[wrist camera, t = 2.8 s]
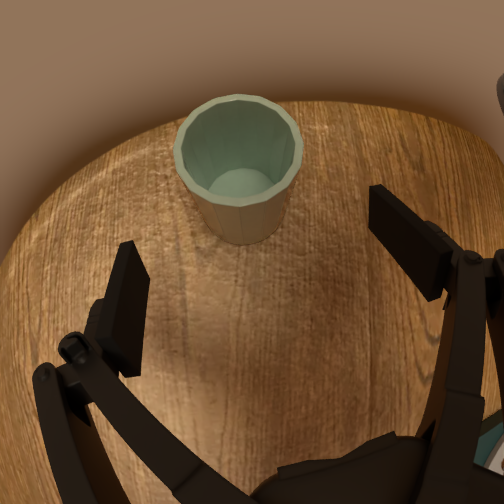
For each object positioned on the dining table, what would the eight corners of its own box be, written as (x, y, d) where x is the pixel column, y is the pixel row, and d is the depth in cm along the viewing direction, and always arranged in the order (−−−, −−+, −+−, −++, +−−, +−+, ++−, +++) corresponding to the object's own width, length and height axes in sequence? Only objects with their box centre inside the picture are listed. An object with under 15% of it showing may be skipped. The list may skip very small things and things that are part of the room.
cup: (273, 159, 29) (283, 85, 18) (294, 234, 28) (319, 190, 17) (195, 176, 29) (167, 109, 18) (210, 253, 27) (184, 220, 17)
